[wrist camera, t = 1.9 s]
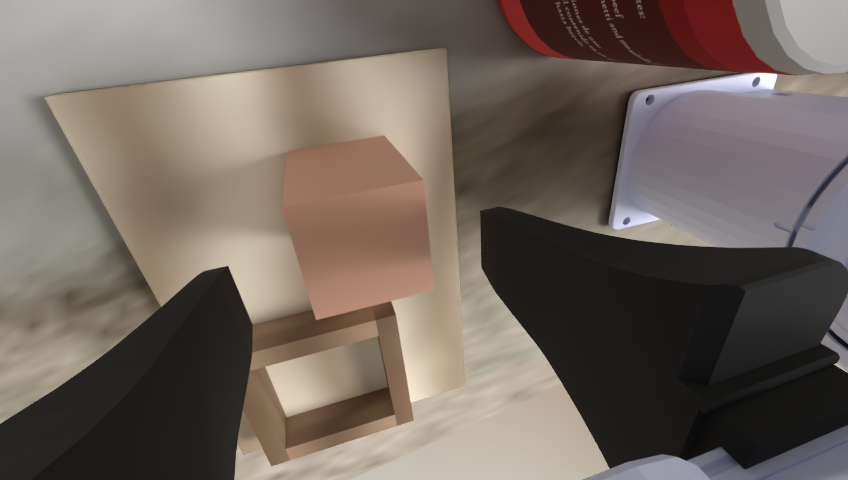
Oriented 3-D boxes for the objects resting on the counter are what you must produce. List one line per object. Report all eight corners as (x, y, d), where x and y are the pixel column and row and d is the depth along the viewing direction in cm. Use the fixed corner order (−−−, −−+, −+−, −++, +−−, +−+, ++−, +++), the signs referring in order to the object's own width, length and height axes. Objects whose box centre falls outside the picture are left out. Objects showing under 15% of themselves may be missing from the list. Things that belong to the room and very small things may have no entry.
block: (384, 135, 16) (423, 179, 11) (396, 219, 18) (434, 290, 13) (287, 151, 15) (281, 207, 10) (311, 237, 17) (316, 319, 12)
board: (438, 48, 16) (464, 49, 13) (460, 373, 26) (477, 410, 23) (60, 93, 13) (3, 106, 11) (245, 439, 23) (238, 488, 20)
